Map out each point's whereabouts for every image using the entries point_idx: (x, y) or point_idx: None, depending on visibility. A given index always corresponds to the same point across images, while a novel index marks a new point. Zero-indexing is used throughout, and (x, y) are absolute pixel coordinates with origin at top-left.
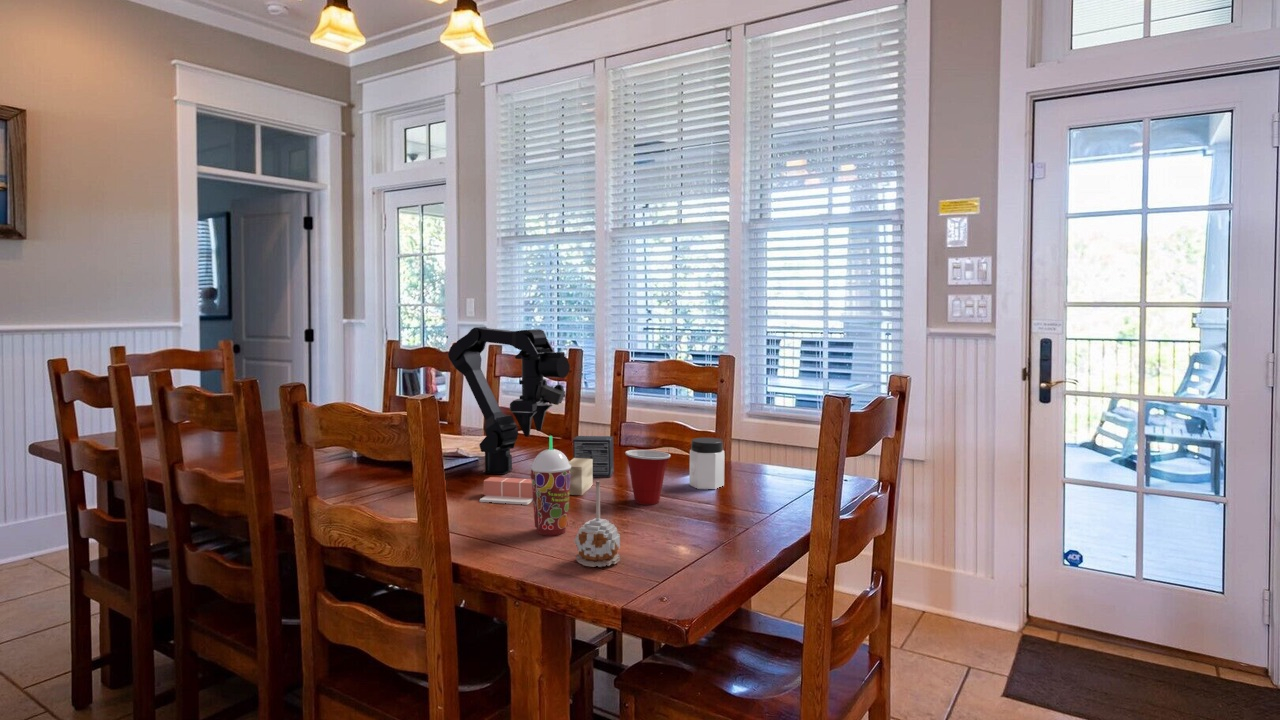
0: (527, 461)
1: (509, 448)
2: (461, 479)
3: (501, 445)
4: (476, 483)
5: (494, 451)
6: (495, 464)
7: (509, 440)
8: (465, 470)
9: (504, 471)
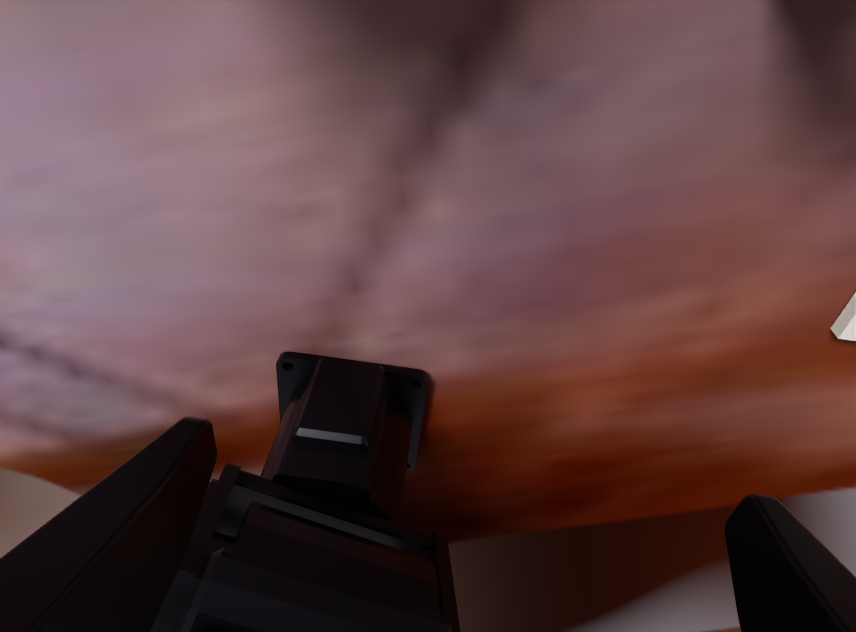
0: (10, 310)
1: (271, 483)
2: (539, 514)
3: (420, 557)
4: (635, 452)
5: (446, 545)
6: (407, 458)
7: (354, 555)
8: None
9: (391, 382)
